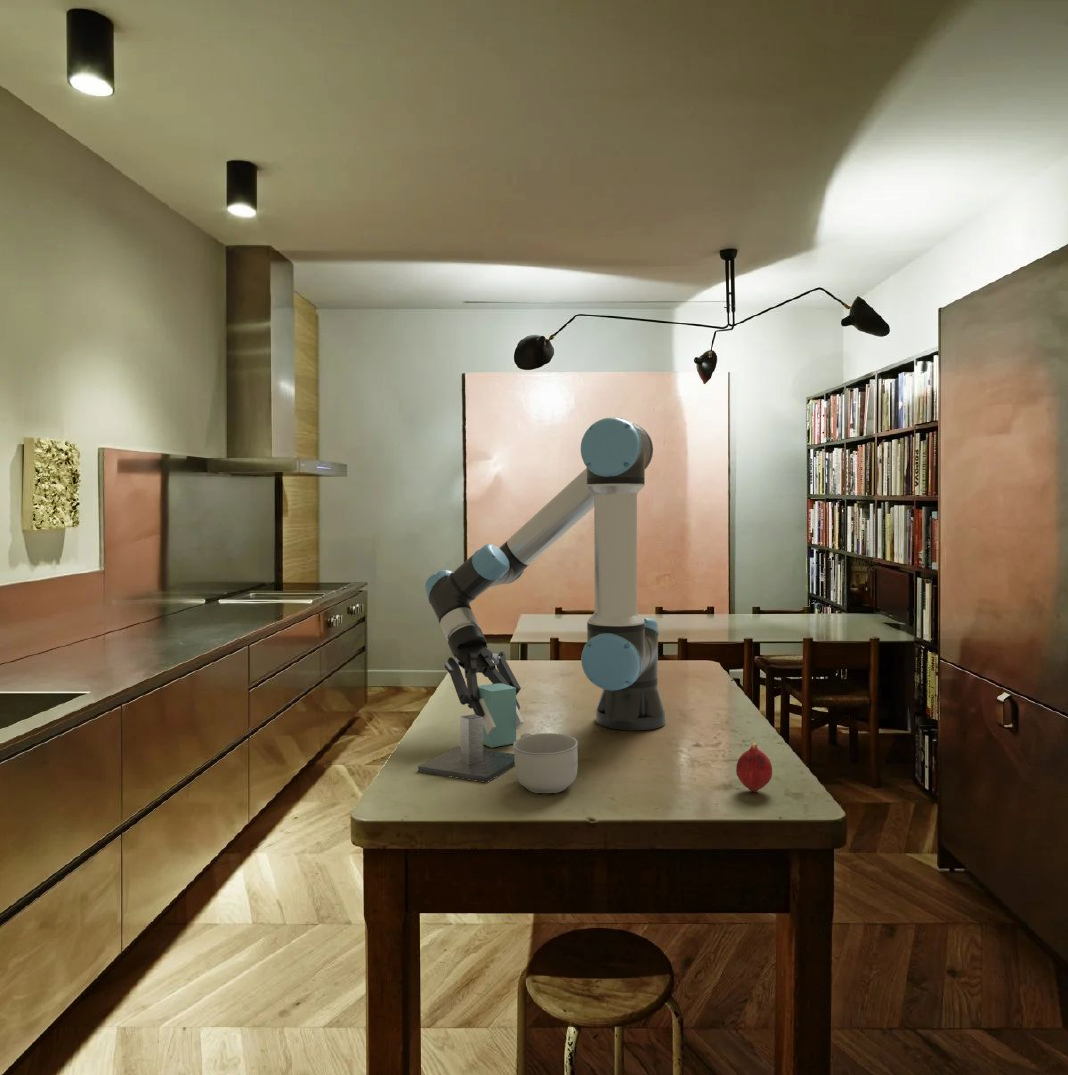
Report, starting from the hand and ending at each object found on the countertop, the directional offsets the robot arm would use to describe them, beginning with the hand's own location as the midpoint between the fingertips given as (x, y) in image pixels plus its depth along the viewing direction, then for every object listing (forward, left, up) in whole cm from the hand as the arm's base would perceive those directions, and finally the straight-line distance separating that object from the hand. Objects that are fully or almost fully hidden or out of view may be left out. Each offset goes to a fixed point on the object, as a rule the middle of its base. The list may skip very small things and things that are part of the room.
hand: (505, 728), depth 165 cm
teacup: (-16, +17, -4) cm, 24 cm away
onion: (-49, +5, -4) cm, 49 cm away
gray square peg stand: (0, +13, -4) cm, 14 cm away
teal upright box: (+3, -2, -4) cm, 5 cm away
